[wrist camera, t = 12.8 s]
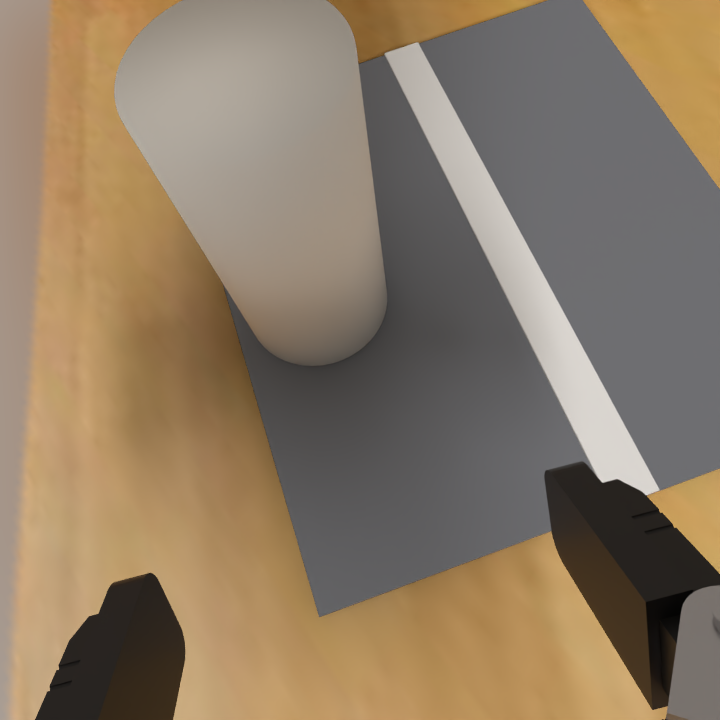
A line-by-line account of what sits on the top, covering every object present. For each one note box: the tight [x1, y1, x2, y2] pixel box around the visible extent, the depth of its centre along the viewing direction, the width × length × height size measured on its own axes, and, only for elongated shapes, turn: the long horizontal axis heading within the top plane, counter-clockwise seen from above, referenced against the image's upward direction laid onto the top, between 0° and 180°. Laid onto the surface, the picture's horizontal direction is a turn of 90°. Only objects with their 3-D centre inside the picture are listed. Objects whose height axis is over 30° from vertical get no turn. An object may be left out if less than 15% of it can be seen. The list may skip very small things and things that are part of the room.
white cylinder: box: [114, 0, 387, 366], centre depth 17 cm, size 5×5×10 cm
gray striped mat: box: [223, 0, 720, 617], centre depth 22 cm, size 18×20×1 cm
